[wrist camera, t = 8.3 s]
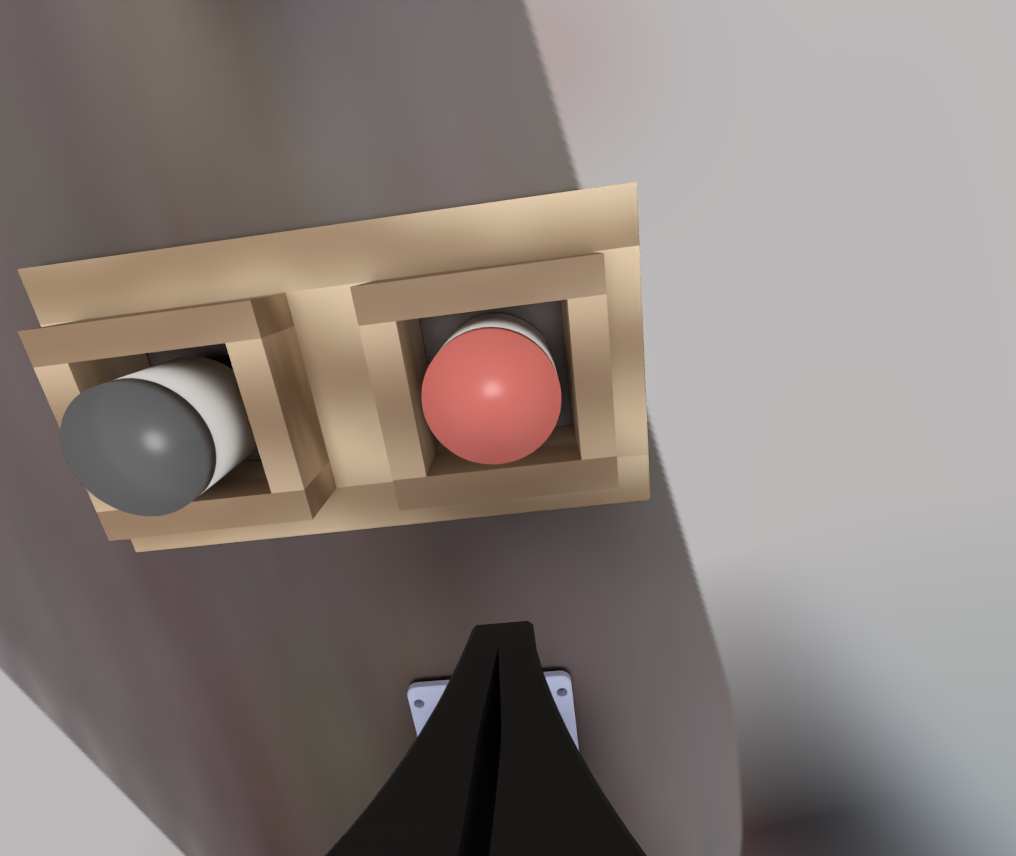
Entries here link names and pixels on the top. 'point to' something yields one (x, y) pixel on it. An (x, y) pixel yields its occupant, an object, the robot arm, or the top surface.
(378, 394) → the socket panel
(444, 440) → the plug red
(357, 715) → the top surface
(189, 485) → the grey plug
